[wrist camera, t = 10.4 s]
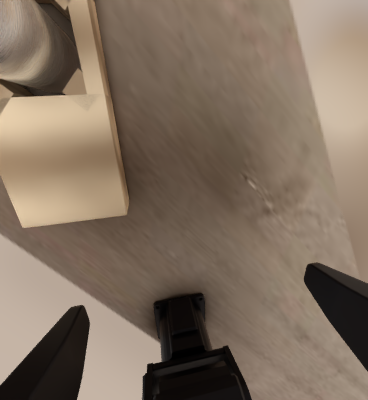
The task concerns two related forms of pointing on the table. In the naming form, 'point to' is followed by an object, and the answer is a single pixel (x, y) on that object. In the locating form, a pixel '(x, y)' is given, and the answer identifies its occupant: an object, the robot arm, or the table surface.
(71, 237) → the table surface
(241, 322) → the table surface
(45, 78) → the translucent cylinder
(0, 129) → the jig
